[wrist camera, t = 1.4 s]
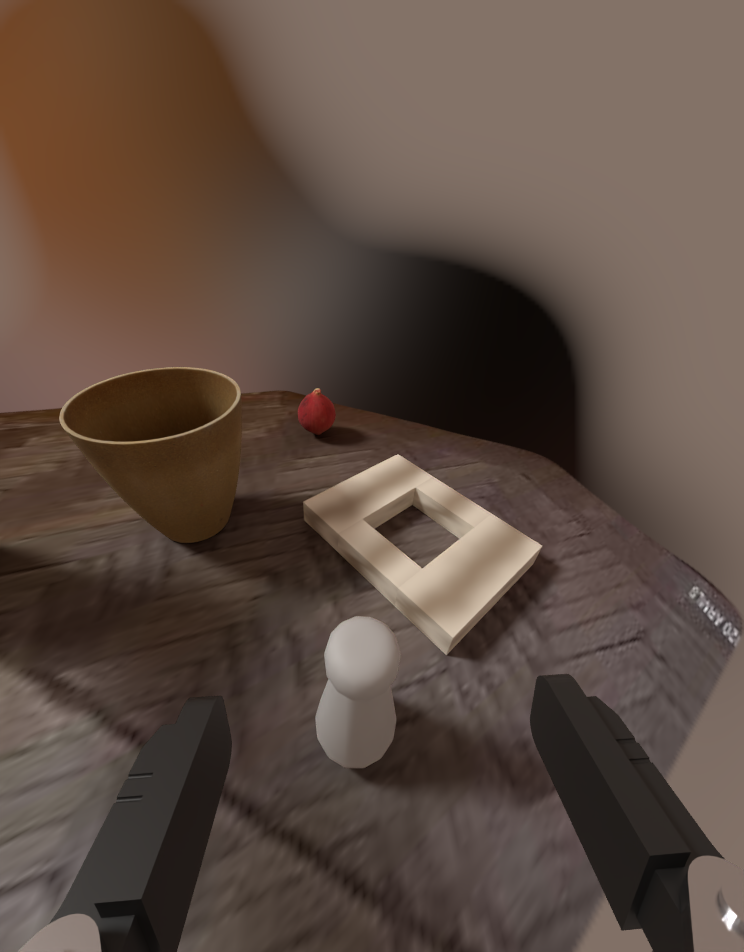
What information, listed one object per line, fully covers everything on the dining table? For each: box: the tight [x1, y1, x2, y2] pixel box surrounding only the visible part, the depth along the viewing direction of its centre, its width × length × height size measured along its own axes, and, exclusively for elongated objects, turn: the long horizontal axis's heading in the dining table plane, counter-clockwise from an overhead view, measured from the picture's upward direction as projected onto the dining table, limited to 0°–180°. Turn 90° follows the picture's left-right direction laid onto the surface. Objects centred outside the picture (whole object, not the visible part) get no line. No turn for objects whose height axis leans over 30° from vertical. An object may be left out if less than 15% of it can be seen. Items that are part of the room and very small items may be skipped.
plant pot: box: [60, 367, 242, 543], centre depth 40 cm, size 15×15×16 cm
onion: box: [298, 388, 336, 435], centre depth 59 cm, size 6×6×8 cm
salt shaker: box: [315, 616, 401, 768], centre depth 25 cm, size 6×6×13 cm
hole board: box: [303, 454, 542, 655], centre depth 43 cm, size 22×16×3 cm
